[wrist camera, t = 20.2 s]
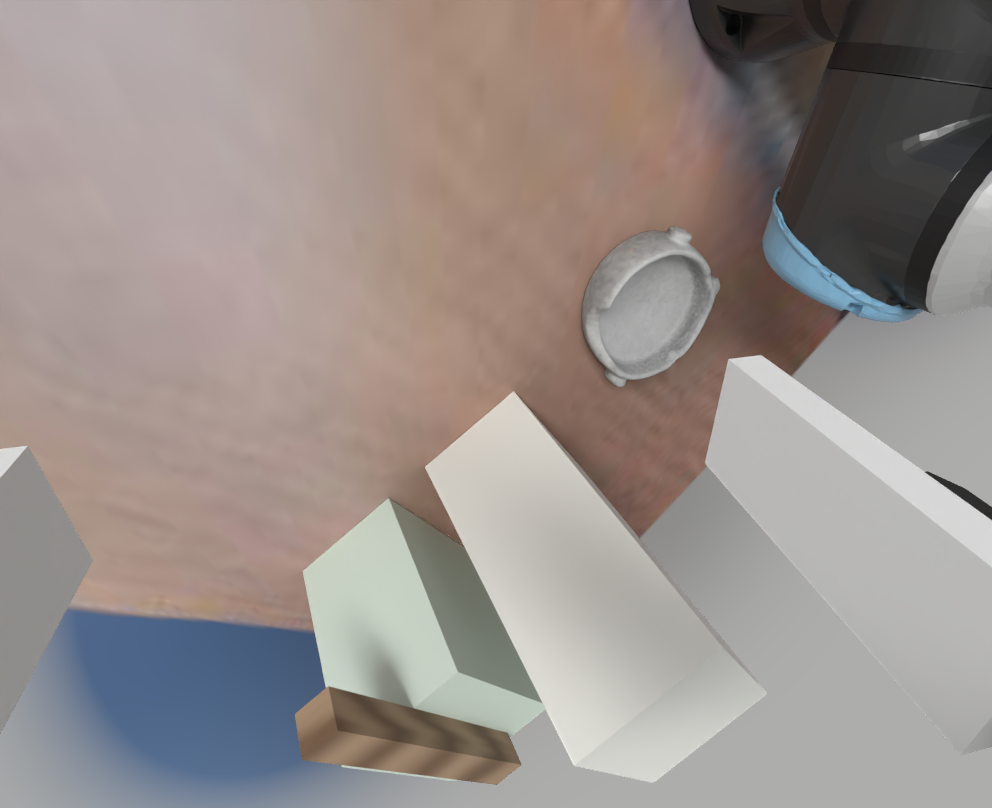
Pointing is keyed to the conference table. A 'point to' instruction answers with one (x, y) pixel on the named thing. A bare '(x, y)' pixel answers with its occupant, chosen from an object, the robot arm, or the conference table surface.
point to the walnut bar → (400, 739)
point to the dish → (647, 304)
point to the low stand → (415, 625)
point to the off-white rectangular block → (587, 602)
